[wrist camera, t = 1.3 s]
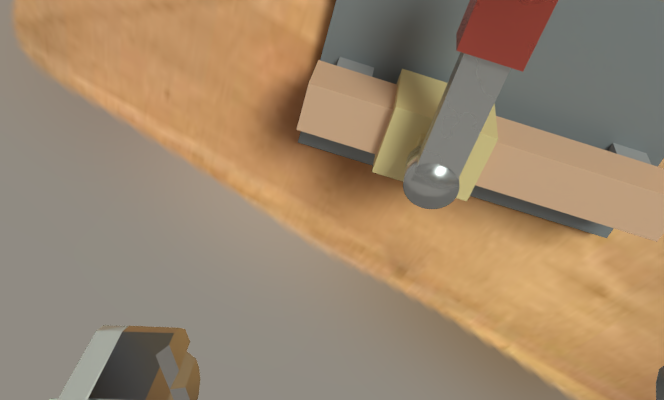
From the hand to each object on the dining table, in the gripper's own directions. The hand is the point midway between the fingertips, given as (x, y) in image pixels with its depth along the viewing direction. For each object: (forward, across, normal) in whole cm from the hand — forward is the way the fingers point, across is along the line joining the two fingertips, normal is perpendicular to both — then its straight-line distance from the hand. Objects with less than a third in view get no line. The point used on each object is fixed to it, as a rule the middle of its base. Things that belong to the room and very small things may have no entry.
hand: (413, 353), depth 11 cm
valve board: (+26, -4, +8) cm, 28 cm away
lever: (+19, -2, +4) cm, 20 cm away
